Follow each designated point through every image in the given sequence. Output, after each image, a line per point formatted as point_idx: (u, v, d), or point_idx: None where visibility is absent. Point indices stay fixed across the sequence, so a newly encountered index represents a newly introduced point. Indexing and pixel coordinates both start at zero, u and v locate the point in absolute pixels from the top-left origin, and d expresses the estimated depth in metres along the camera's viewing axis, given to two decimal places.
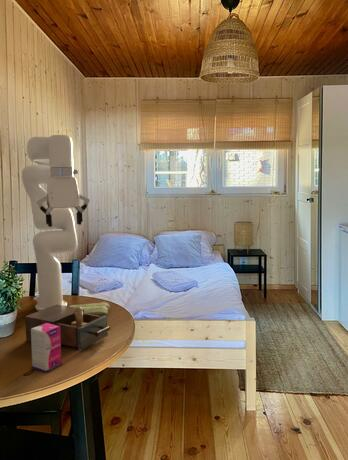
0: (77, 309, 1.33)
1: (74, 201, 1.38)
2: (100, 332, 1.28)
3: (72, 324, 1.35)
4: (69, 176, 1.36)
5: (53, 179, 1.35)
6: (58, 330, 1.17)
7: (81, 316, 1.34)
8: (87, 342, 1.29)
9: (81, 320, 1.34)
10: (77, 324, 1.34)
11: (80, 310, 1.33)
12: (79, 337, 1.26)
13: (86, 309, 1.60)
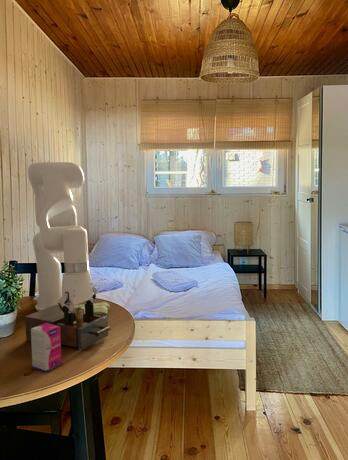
0: (77, 309, 1.33)
1: (90, 294, 1.35)
2: (100, 332, 1.28)
3: None
4: (88, 270, 1.32)
5: (75, 276, 1.29)
6: (58, 330, 1.17)
7: (81, 316, 1.33)
8: (87, 342, 1.29)
9: (81, 320, 1.34)
10: (77, 324, 1.34)
11: (80, 310, 1.33)
12: (79, 337, 1.26)
13: None
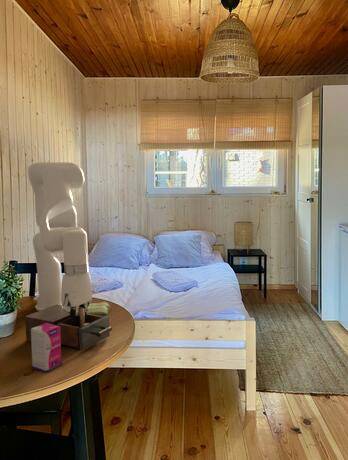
0: (79, 309, 1.33)
1: (89, 295, 1.35)
2: (102, 332, 1.28)
3: None
4: (88, 272, 1.32)
5: (75, 277, 1.29)
6: (58, 330, 1.17)
7: (83, 316, 1.33)
8: (89, 342, 1.29)
9: (83, 320, 1.33)
10: None
11: (82, 310, 1.33)
12: (81, 337, 1.26)
13: None
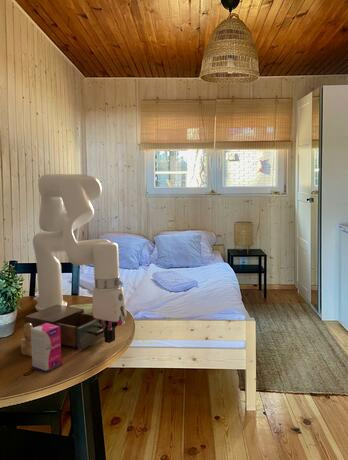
0: (26, 325, 1.25)
1: (112, 315, 1.25)
2: (100, 332, 1.28)
3: (21, 341, 1.26)
4: (104, 289, 1.23)
5: (94, 289, 1.27)
6: (58, 330, 1.17)
7: (30, 333, 1.25)
8: (87, 342, 1.29)
9: None
10: (26, 341, 1.25)
11: (29, 326, 1.25)
12: (79, 337, 1.26)
13: (86, 309, 1.60)
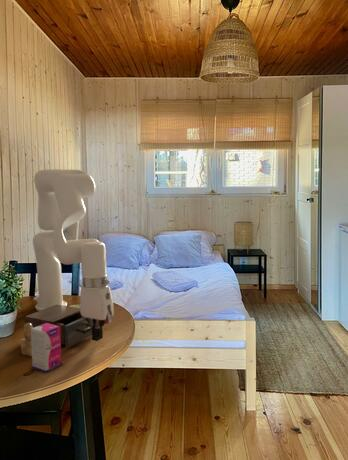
0: (26, 325, 1.25)
1: (99, 314, 1.27)
2: (87, 329, 1.31)
3: (21, 341, 1.26)
4: (92, 288, 1.26)
5: (82, 288, 1.29)
6: (58, 330, 1.17)
7: (30, 333, 1.25)
8: (74, 339, 1.31)
9: None
10: (26, 341, 1.25)
11: (29, 326, 1.25)
12: (66, 334, 1.29)
13: None
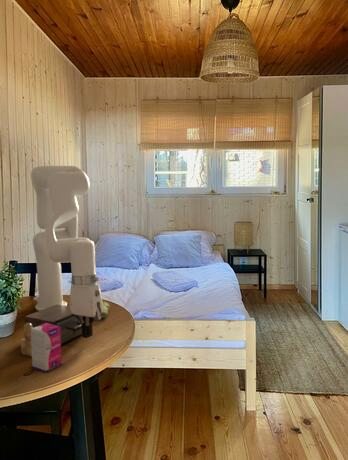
0: (26, 325, 1.25)
1: (89, 311, 1.29)
2: (77, 328, 1.33)
3: (21, 341, 1.26)
4: (81, 285, 1.28)
5: (72, 286, 1.31)
6: (58, 330, 1.17)
7: None
8: (65, 337, 1.33)
9: None
10: (26, 341, 1.25)
11: (29, 326, 1.25)
12: None
13: None
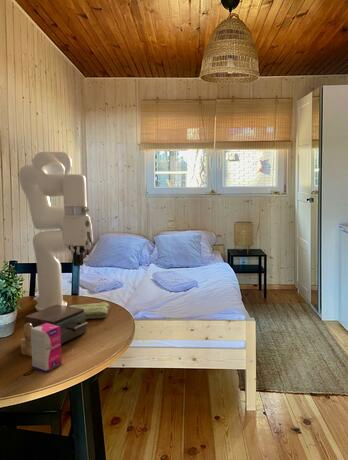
0: (26, 325, 1.25)
1: (79, 240, 1.38)
2: (77, 328, 1.33)
3: (21, 341, 1.26)
4: (72, 215, 1.37)
5: (64, 217, 1.40)
6: (58, 330, 1.17)
7: (30, 333, 1.25)
8: (65, 337, 1.33)
9: None
10: (26, 341, 1.25)
11: (29, 326, 1.25)
12: None
13: (86, 309, 1.60)
